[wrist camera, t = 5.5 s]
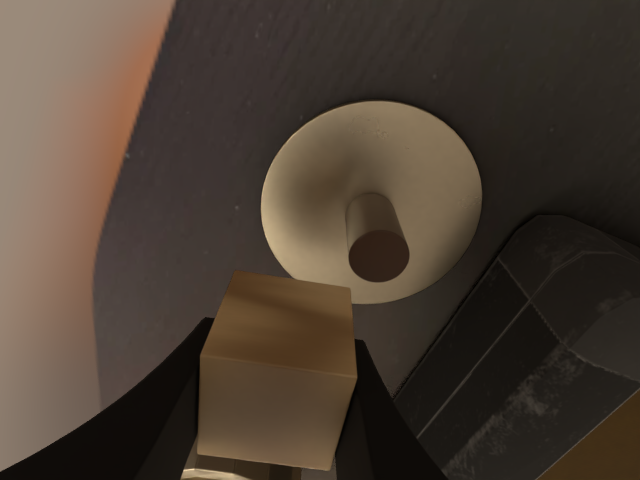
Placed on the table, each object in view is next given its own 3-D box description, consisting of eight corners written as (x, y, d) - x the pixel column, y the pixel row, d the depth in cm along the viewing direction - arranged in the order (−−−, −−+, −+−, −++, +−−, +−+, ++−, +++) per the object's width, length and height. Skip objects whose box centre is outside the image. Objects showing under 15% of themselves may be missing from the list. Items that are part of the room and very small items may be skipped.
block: (228, 355, 15) (196, 454, 11) (234, 268, 13) (198, 355, 10) (330, 370, 15) (329, 471, 12) (350, 286, 13) (358, 377, 10)
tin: (166, 456, 30) (127, 555, 24) (164, 363, 25) (116, 458, 20) (293, 472, 30) (284, 573, 25) (313, 385, 26) (308, 483, 20)
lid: (254, 276, 22) (234, 339, 17) (277, 76, 17) (257, 90, 12) (436, 305, 22) (463, 373, 18) (509, 120, 18) (571, 149, 13)
